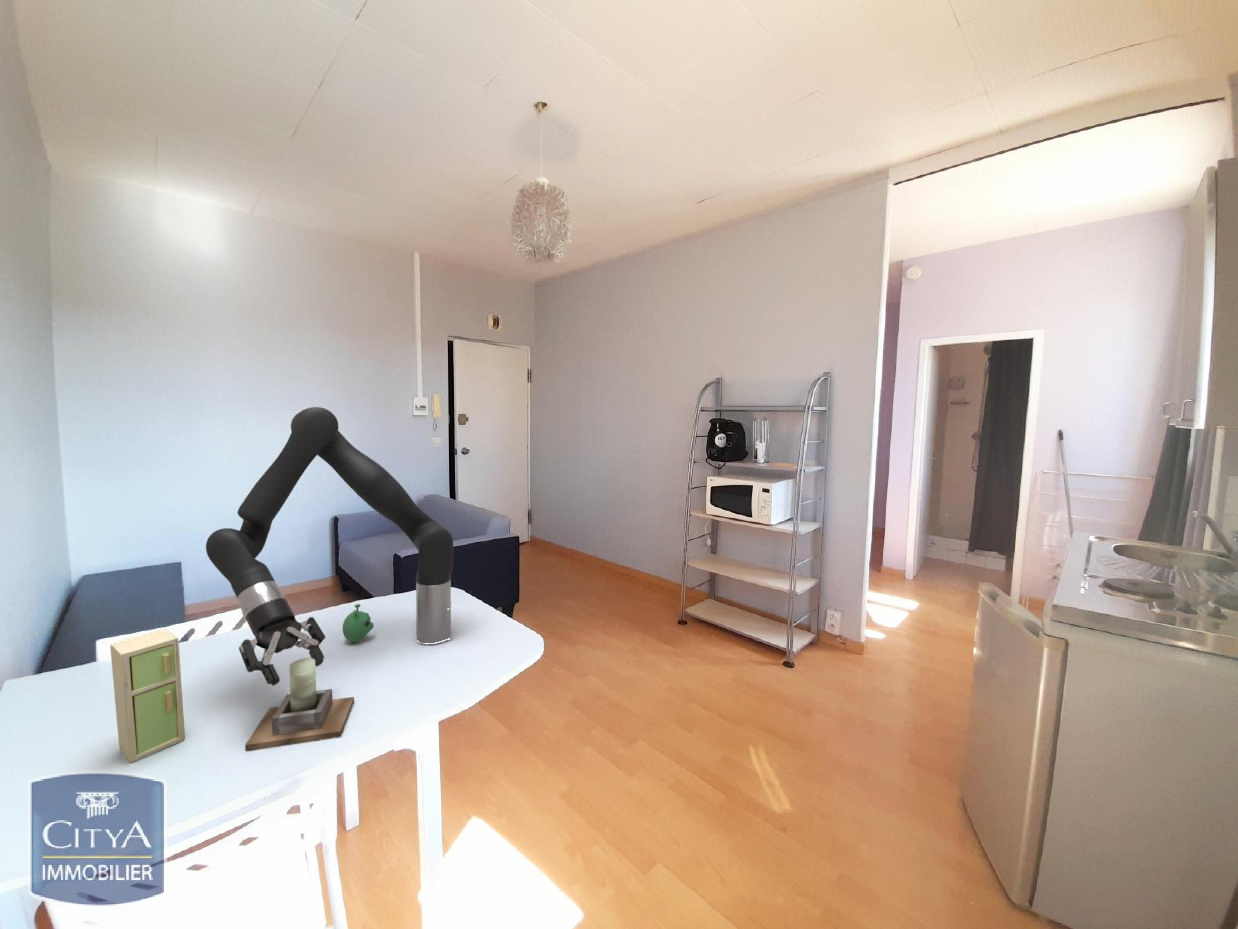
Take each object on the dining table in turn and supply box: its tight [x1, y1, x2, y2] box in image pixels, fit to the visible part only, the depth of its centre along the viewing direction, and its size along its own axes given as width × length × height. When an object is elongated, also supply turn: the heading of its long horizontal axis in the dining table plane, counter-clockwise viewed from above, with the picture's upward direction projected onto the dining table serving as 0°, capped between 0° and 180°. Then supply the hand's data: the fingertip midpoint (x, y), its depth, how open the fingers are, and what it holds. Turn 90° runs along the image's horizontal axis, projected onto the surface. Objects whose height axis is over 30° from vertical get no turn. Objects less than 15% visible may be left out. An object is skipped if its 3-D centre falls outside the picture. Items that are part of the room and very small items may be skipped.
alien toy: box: [342, 603, 375, 643], centre depth 134 cm, size 7×8×10 cm
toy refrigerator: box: [109, 628, 186, 764], centre depth 90 cm, size 8×7×21 cm
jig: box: [244, 688, 355, 752], centre depth 98 cm, size 16×12×5 cm
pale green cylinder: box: [288, 657, 317, 713], centre depth 98 cm, size 4×4×12 cm
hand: (299, 673), depth 98 cm, fingers open, 8 cm apart
